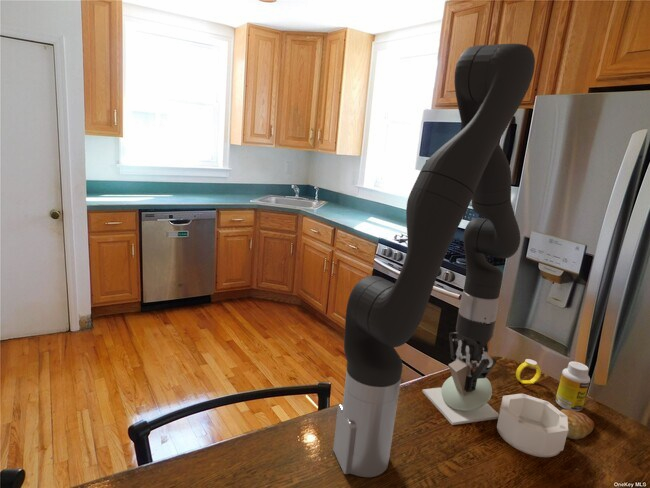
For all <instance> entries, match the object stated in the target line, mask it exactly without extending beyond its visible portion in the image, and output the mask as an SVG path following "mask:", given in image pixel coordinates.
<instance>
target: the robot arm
mask: <svg viewBox="0 0 650 488" xmlns="http://www.w3.org/2000/svg"><path fill="white" fill-rule="evenodd" d="M535 63H536V58H535V53H534V51H533V49H532V48H531V47H529V46H528V45H526V44H522V43H499V44H483V45H482V44H481V45H479V44H478V45H473V46H469V47H468V48H466V49H464V51H463V52H462V53H461V55H460V56H459V58H458V59H457V63H456V64H455V68H454V92H455V97H456V103H457V108H458V113H459V118H460V122H461V126H462V127H461V128H462V129H461V130H460V131H459V132H457V134H454V136H453V137H452V138H451V139H449V140H448V141H447V142H446V143H444V144H443V145H442V146H440V147H439V148H438V149H437V150H436V151H435V152H434V153H433V154H432V155H431V156H430V157H429V158H428V159H427V160H426V161H425V162H424V164H423V166H422V167H421V170H420V171H419V174H418V176H417V177H416V180H415V182H414V184H413V186H412V188H411V191H410V192H409V196H408V198H407V201H406V210H405V211H406V214H405V215H406V217H405V218H406V219H405V221H406V232H407V233H406V234H407V235H406V236H407V237H406V238H407V248H406V254H405V259H404V262H403V265H402V267H401V270H400V272H399V274H398V276H397V279H396V281H395V283H394V282H392V281H389V280H387V279H385V278H384V277H381V276H377V275H369V276H365V277H364V278H362V279H360V280H359V281H358V282H357V283H355V286H354V287H353V288H352V290H351V291H350V294H349V296H348V299H347V305H346V309H345V310H346V311H345V323H344V337H343V338H344V343H343V351H344V352H343V353H344V354H345V355H344V356H345V359H346V372H345V381H344V389H343V398H342V403H341V404H338V405H337V413H336V421H335V431H334V440H333V449H332V450H333V453H334V456H335V457H336V459H337V461H338V463H339V466H340V467H341V470H342V473H343V474H344V475H349V474H350V475H354V476H357V477H362V478H373V477H377V476H380V475H381V474H383V473H385V471H386V470H387V469H388V466H389V461H390V455H391V448H392V442H393V435H394V427H395V423H396V422H395V421H396V414H397V413H396V412H397V406H398V401H399V395H400V394H399V392H400V388H401V381H402V373H403V361H402V357H401V356H400V354H399V353H398V352H397V350H396V349H395V348H399V347H401V346H403V345H404V344H406V343H407V342H408V341H409V340H410V339H411V338H412V337H413V335H414V334H415V333H416V331H417V329H418V327H419V325H420V323H421V322H422V320H423V317H424V314H425V311H426V308H427V306H428V303H429V300H430V297H431V294H432V293H433V292H432V291H433V288H434V286H435V283H436V280H437V277H438V275H439V271H440V270H441V266H442V265H443V261H444V260H445V257H446V255H447V252H448V250H449V248H450V245H451V243H452V241H453V239H454V237H455V234H456V232H457V230H458V228H459V227H460V225H461V222H462V221H463V218H464V216H465V214H466V213H467V210H468V208H469V205H470V203H471V208H472V210H473V212H474V213H476V215H479V216H480V217H475V218H472V219H471V220H470V221H469V222H468V223H467V224H466V225H465V228H464V230H463V238H462V239H463V249H464V255H465V256H464V257H465V267H466V268H465V269H466V271H465V272H466V274H465V279H464V285H463V291H462V294H461V297H460V302H459V307H458V311H457V312H458V313H457V319H456V326H455V332H454V331H453V332H449V334H448V339H449V348H450V349H449V351H450V359H451V360H453V361H456V360H457V359H461V360H463V361H464V362H465V363H466V365H467V366H468V368H467V376H466V382H465V387H464V390H465V391H466V392H472V391H474V390H475V389H476V383H477V379H480V378H487V376H489V373H491V371H492V370H493V368H494V367H495V365H496V364H497V360H496V359H495V358H494V357H491V356H490V354H489V346H488V344H489V342H490V341H491V339H493V337H494V331H495V327H496V322H497V321H496V320H497V315H498V310H499V300H500V299H499V297H500V292H501V288H502V284H503V283H502V282H503V277H504V275H503V271H502V270H501V269H500V268H498V267H496V266H494V265H493V264H491V262H488V261H487V259H486V256H485V255H487V256H490V257H494V258H495V257H496V258H498V259H499V258H500V259H509V258H511V257H513V256H514V255H515V254H516V253H517V252H518V250H519V248H520V245H521V231H520V228H519V224H518V221H517V218H516V214H515V211H514V209H513V203H512V171H511V167H510V163H509V160H508V158H507V156H506V154H505V151H504V150H503V149H502V147H501V145H500V143H499V142H500V140H501V138H502V136H503V135H504V133H505V131H506V130H507V128H508V126H509V124H510V123H511V121H512V119H513V118H514V116H515V114H516V113H517V111H518V109H519V108H520V106H521V105H522V102H523V100H524V98H525V97H526V94H527V93H528V90H529V88H530V86H531V84H532V80H533V76H534V72H535Z"/></svg>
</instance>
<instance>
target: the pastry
mask: <svg viewBox="0 0 650 488" xmlns="http://www.w3.org/2000/svg"><path fill="white" fill-rule="evenodd" d="M560 411H561V412H562V413H564V414H565V415H566V416H567V418H568V433H567V437H566V438H569V439H571V440H579V439H584V438H586V437H587V436H588V435H590V434H591V433H592V432H593V430H594V428H595V423H594V420H593V419H591V418H590V417H589V416H588V415H587V414H585V413H583V412H579V411H577V412H575V411H570V410H567V409H564V408H562V409H561V410H560Z"/></svg>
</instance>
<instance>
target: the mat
mask: <svg viewBox="0 0 650 488" xmlns="http://www.w3.org/2000/svg"><path fill="white" fill-rule="evenodd" d="M441 389H442V386H441V387H432V388H425V389H422V393H423V394H424V395H425V396H426V398H427V399H428V400H429V401H430V402H431V404H433V406H434V407H435V408H436V409H437V410H438V411H439V412H440V413H441V414H442V415H443V416H444V417H445V419H446V420H447V422H449V423H450V424H451V426H455V425H463V424H470V423H477V422H483V421H491V420H498V418H499V413H498V412H497V411H496V410H495V409H494V408H493V407H492V406H491V405H490V404H489V403H488V402H487V403H486V404H485V405H484V406H482V407H480V408H478V409H475V410H471V411H460V410H456V409H453V408H451V407H449V406H448V405H447V404H446V403H445V402H444V400H443V397H442V394H441Z"/></svg>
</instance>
